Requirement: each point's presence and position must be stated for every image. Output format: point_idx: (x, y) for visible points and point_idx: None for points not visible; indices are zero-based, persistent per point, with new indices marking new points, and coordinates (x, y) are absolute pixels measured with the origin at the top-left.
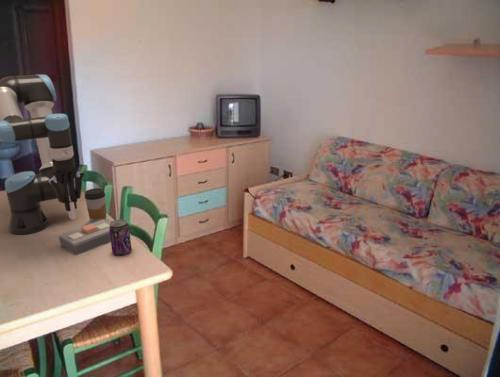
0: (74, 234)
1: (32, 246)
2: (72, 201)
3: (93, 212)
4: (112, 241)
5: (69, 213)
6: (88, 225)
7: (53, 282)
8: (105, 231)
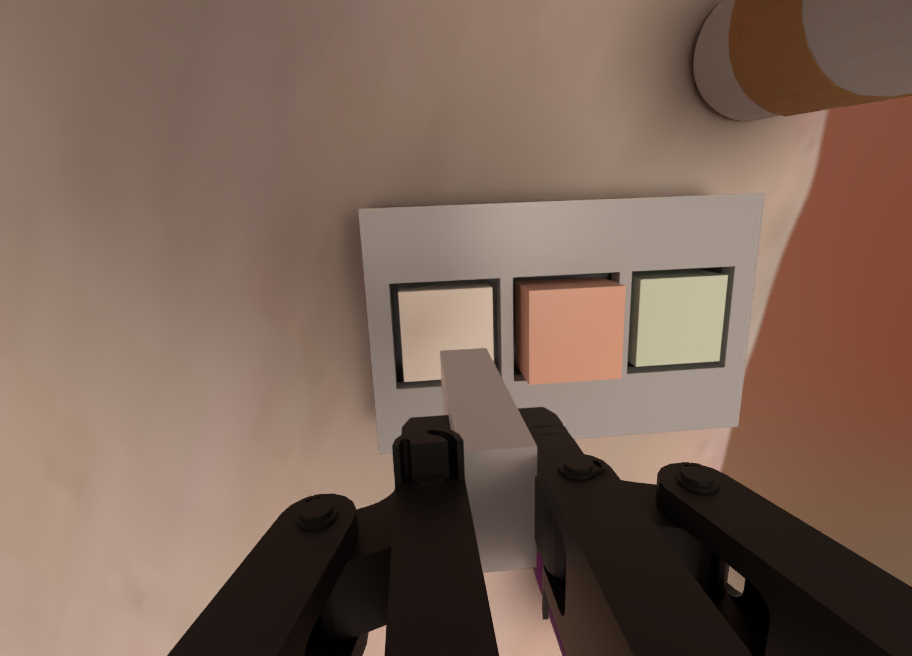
0: (450, 306)
1: (196, 49)
2: (535, 526)
3: (787, 67)
4: (557, 638)
5: (445, 395)
6: (592, 298)
7: (168, 607)
8: (634, 421)
